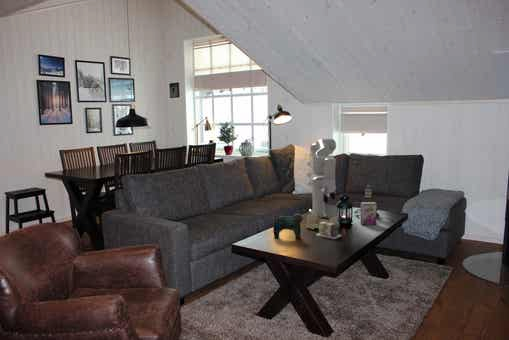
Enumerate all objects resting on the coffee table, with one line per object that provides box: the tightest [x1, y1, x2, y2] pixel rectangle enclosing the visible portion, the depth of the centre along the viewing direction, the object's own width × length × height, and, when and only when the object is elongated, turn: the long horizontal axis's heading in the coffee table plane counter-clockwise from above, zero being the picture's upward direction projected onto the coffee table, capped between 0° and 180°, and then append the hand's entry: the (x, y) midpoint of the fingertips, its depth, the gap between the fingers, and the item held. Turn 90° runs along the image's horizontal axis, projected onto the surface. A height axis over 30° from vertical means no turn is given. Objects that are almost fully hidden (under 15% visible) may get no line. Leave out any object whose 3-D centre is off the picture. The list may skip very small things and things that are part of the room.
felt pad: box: [315, 232, 342, 240], centre depth 292 cm, size 15×9×1 cm, turn 50°
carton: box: [305, 212, 340, 230], centre depth 310 cm, size 19×15×9 cm
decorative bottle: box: [354, 184, 383, 217], centre depth 337 cm, size 22×21×25 cm
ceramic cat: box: [272, 208, 304, 240], centre depth 287 cm, size 20×6×20 cm, turn 81°
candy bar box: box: [359, 201, 378, 226], centre depth 316 cm, size 11×5×16 cm, turn 84°
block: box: [318, 222, 339, 237], centre depth 291 cm, size 12×5×8 cm, turn 50°
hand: (329, 200), depth 293 cm, fingers open, 9 cm apart
